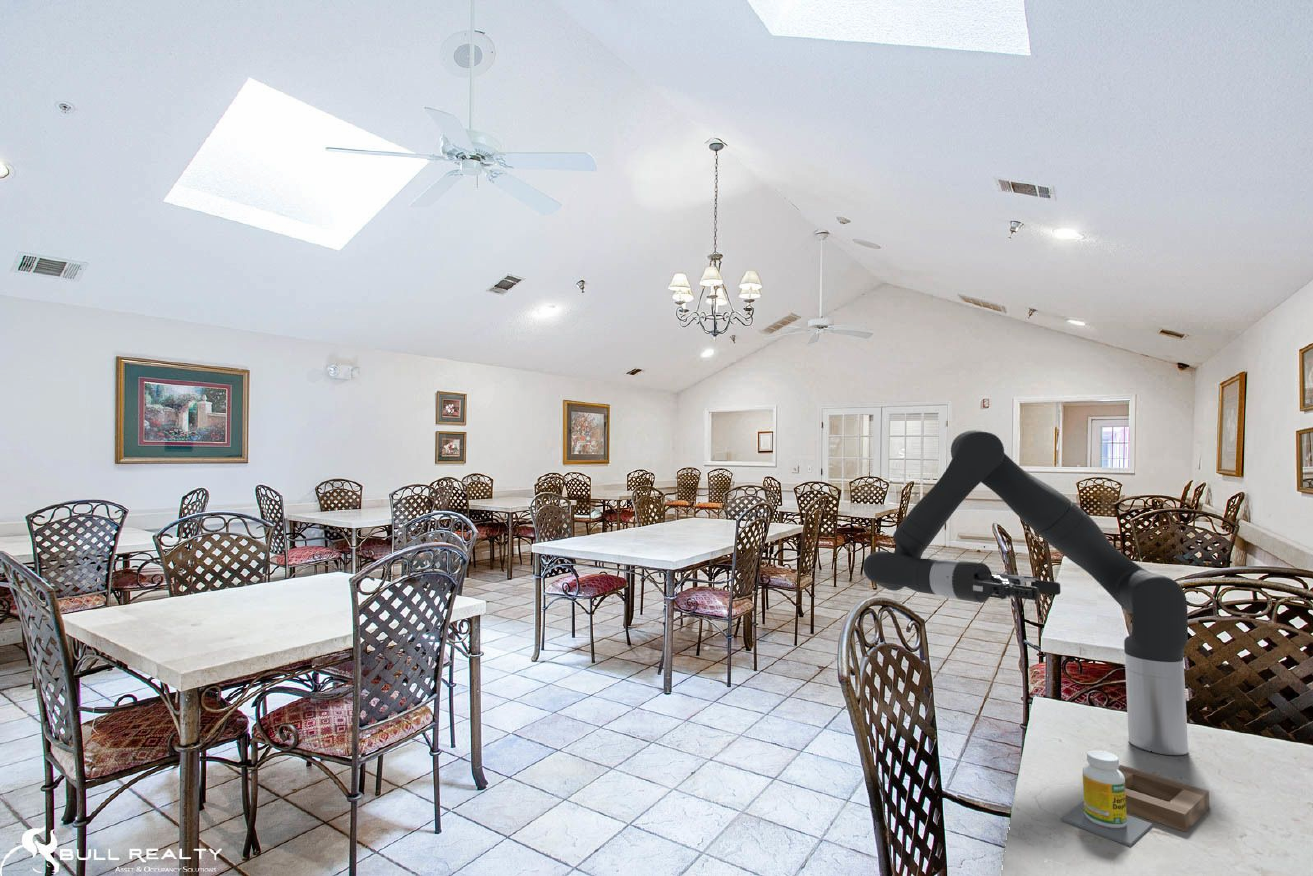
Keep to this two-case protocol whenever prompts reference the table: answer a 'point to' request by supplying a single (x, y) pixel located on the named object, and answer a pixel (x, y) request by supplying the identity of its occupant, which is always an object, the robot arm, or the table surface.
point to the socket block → (1176, 813)
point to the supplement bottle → (1104, 790)
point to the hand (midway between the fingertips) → (1049, 591)
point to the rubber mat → (1122, 835)
